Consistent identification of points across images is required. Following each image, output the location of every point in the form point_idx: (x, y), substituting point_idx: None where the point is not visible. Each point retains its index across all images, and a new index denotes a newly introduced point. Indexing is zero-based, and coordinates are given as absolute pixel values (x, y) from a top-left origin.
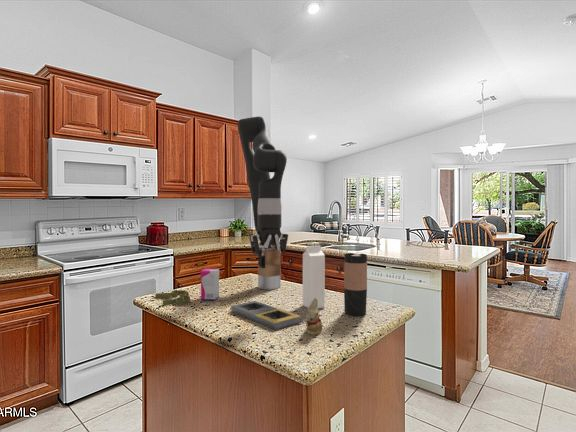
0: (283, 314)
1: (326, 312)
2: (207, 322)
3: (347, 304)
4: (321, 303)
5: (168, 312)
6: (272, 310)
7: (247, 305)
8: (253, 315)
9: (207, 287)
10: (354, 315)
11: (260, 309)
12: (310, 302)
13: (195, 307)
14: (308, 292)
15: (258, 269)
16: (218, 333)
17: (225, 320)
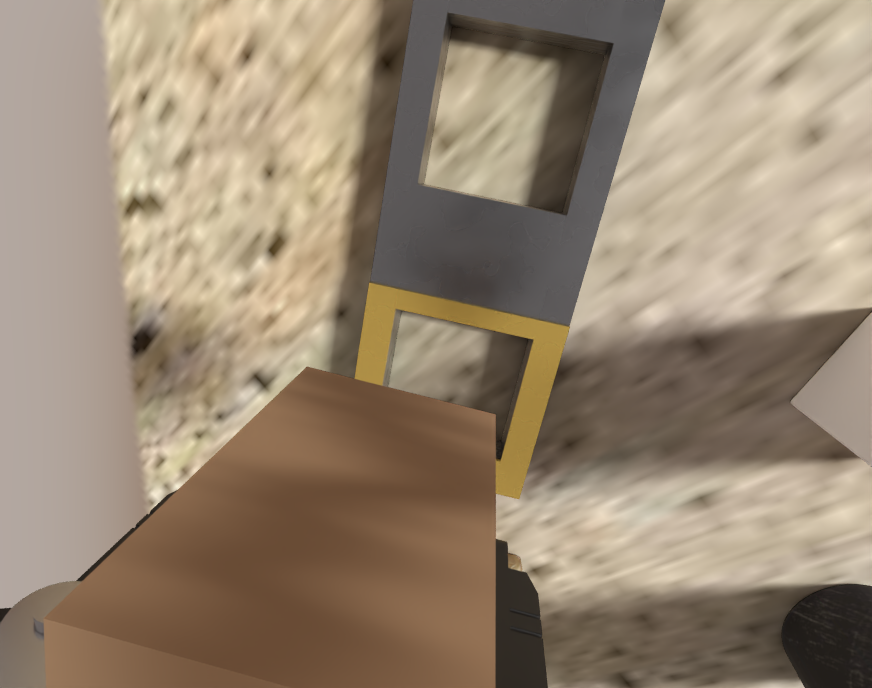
0: (520, 383)
1: (777, 507)
2: (180, 40)
3: (821, 665)
4: None
5: None
6: (518, 304)
7: (537, 32)
8: (374, 262)
9: None
10: (784, 647)
11: (487, 222)
12: (819, 425)
13: None
14: None
15: (277, 400)
16: (136, 245)
17: (278, 105)
